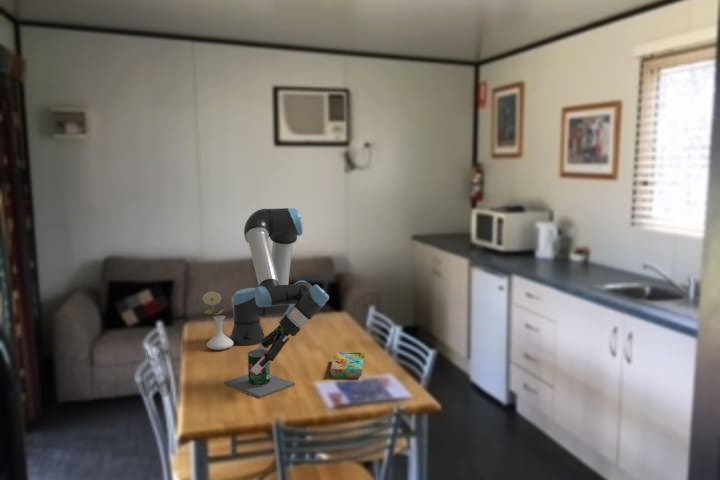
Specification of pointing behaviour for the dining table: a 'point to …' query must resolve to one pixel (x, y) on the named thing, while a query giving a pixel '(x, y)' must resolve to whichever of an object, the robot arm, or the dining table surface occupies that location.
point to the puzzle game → (347, 364)
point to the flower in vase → (219, 339)
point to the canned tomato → (264, 374)
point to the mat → (259, 391)
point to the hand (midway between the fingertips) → (252, 365)
